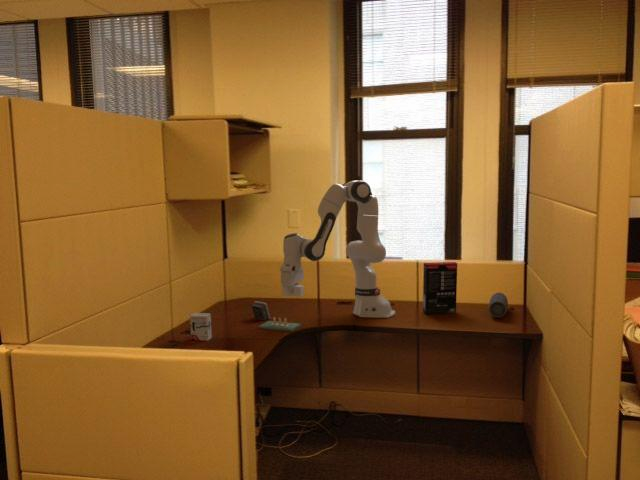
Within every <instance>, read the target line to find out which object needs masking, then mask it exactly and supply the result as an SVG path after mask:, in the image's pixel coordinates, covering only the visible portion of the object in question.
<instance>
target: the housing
mask: <svg viewBox="0 0 640 480" xmlns="http://www.w3.org/2000/svg"><path fill="white" fill-rule="evenodd" d="M292 290H293V293H292V294H289V290H288V288H287V287H282V296H283V297H297V298H300V297H304V296H305V285H304V284H303V285H301V284H299V285H295V284H293V285H292Z"/></svg>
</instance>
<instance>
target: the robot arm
mask: <svg viewBox="0 0 640 480" xmlns="http://www.w3.org/2000/svg"><path fill="white" fill-rule="evenodd" d="M346 202H354V203H356V205H357V208H358V210H357V218H356V231H357V232H358V233H359V235H360V237H361V240H353V241H350V242H349V243H348V244H347V245H346V249H345V253H346V255H347V257H348V258H349V259H350V261H351V263H352V266H353V269H354V274H355V287H354V297H355V299H354V300H355V303H354V308H353V313H352V314H353V315H355V316H358V317H360V318H377V319H378V318H380V319H381V318H382V319H383V318H385V319H387V318H392V317H393V316H395V315H396V310H393V309H392V306H391V303H390V301H389V299H387V298H386V297H384V296H382V294H381V288H379V287H378V286H377V272H376V270H375V269H374V268H373V267H372V264H378V263H382V262H383V261H384V260H385V258H386V256H387V249H386V248H385V246H384V245H383V242H381V239H380V235H379V201H378V198H377V196H376V195H374V194H373V192H372V189H371V186H370V184H369V183H367V182H366V181H365V180H351V181H347V182H345V183H343V184H339V183H334V184H332V185H331V186H330V187H329V188H328V189H327V191H326V192H325V193H324V195H323V197H322V198H321V200H320V203H319V204H318V208H317V213H318V216H319V217H320V225H319V228H318V230H317V232H316V234H315V236H314V237H313V239H311V238H307V237H305V236H302V235H300V234H299V233H296V232H294V233H289V234H287V235H285V236H284V238H283V245H282V246H283V247H282V248H283V249H282V250H283V251H282V252H283V256H284V257H283V263H282V265H281V266H280V267H279V272H280V283H281V284H280V285H281V286H282V288H283V287H287V288H288V290H289V294H292V293H293V290H292V285H300V282H302V281H303V280H304V279H305V273H304V268H303V265H302V258H305V259H308V260H310V261H311V262H318V261H320V260H322V259H323V257H324V256H325V254H326V253H325V252H326V248H327V247H326V246H327V243H328V241H329V237H330V236H331V234H332V231H333V230H334V226H335V223H336V221H337V218H338V216H339V214H340V212H341V210H342V208H343V207H344V206H343V205H345V203H346Z"/></svg>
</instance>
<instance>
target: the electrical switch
mask: <svg viewBox="0 0 640 480" xmlns="http://www.w3.org/2000/svg"><path fill="white" fill-rule="evenodd" d="M251 310H252V312H253V316H254V318H255V319H258V320H261V321H266V320H270V319H271V315H270V311H269V307H268V304H267V303H266V302H263V301H257V300H255V301H253V304H251Z"/></svg>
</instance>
